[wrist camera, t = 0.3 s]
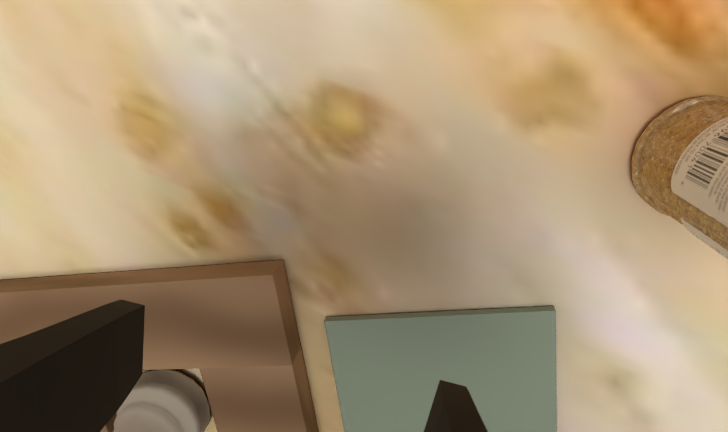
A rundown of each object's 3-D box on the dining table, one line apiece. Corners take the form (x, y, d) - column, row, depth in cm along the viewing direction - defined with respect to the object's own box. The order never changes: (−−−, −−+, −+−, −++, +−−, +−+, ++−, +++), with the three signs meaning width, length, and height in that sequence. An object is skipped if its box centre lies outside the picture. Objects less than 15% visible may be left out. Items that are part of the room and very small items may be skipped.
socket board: (334, 510, 26) (328, 536, 25) (91, 504, 29) (74, 528, 27) (283, 259, 21) (272, 275, 20) (-2, 280, 24) (-30, 294, 23)
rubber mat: (555, 485, 24) (557, 492, 23) (356, 482, 25) (355, 489, 25) (553, 305, 20) (555, 310, 20) (326, 316, 22) (324, 321, 22)
